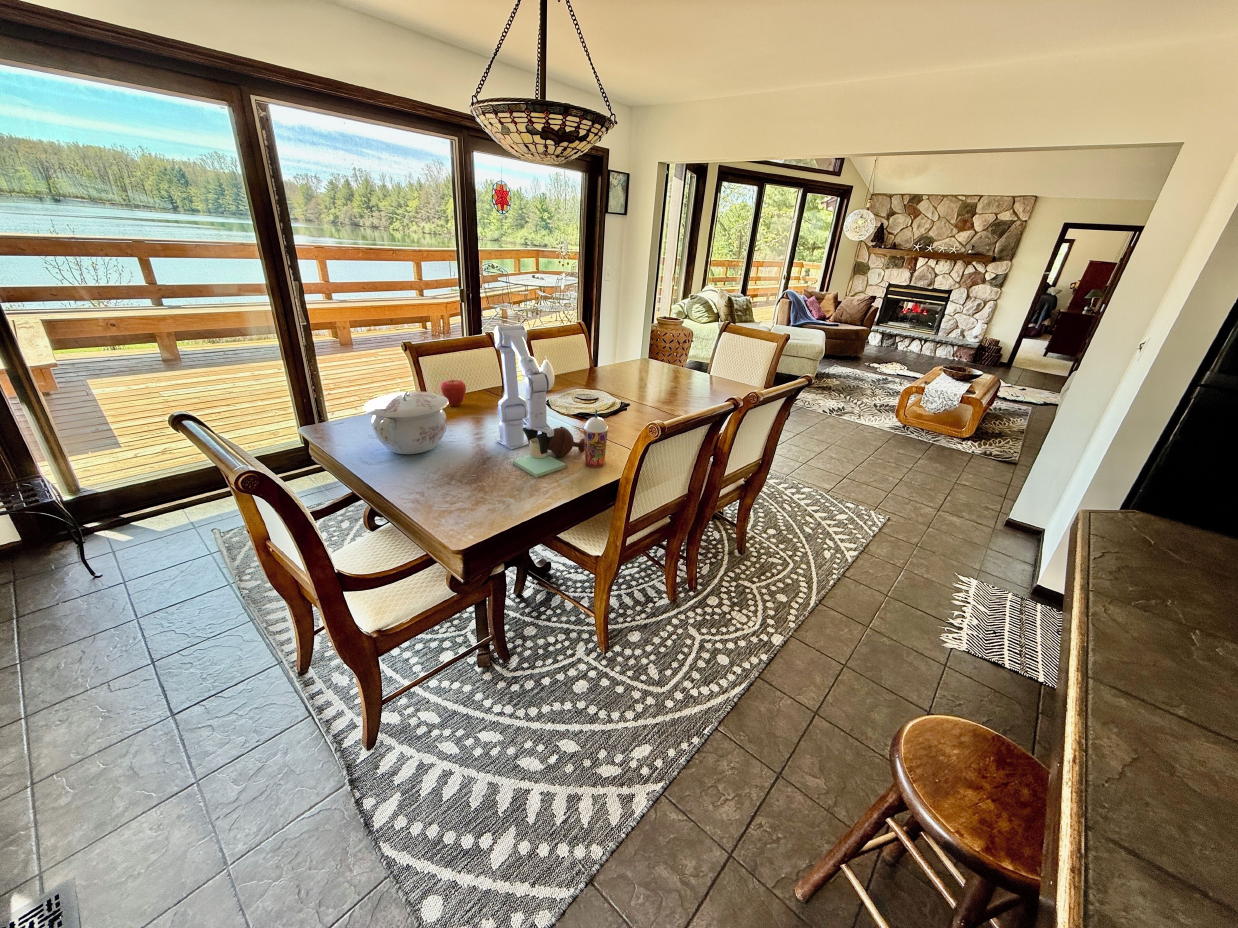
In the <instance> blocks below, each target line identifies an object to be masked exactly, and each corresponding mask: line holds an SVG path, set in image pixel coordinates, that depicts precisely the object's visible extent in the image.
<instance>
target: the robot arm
mask: <svg viewBox="0 0 1238 928" xmlns="http://www.w3.org/2000/svg"><path fill="white" fill-rule="evenodd" d="M493 337H494V346H495V349H496V350H499V351H500V356H501V365H502V377H503V387H504V396H502V398H501V399H499V401H498V403H497V405H498V406H497V416H498V419H499V421H500V422H499V425H498V433H499V440H497V443H499V444H500V445H503V446H504V447H506V448H508V449H509V450H514V449H517V448H521V447H525V446H529V447H530V440H531V439H533V438H538V441H539V445H540V452H541V454H545V453H547V451H548V452H549V450H548V447H549V444H550V441H551V439H552V438H553V436H554V430H553V429H554V428H552V427H551V426H550V425H549V424H548V423H547V421H548V419H547V392H549V391H550V390H549V380H548V377H547V375H546V373H544V372H543V371H541V370H540V368H541V367H540V366H539V364H538V362H537V360H536V358H535V357H534V356H533V355H532V356H531V355H530V352H529V349H528V346H527V340H528V331H527V328H526V326H524V324H514V325H512V324H510V325H496V326H495V327H494V330H493ZM516 358H517V359H518V363H517V360H516ZM517 365H518V368H519V370H520V372H521V374H522V377H523V379H524V381H523V383H524V384H523V385H524V389H525V396H526V398H527V401H526V400H525V398H523V397H522V396H520V395H519V383H518V373H517V372H518V371H517ZM548 390H549V391H548ZM539 432H540V433H539ZM525 437H526V439H527V441H526V440H525Z"/></svg>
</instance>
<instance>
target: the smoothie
mask: <svg viewBox="0 0 1238 928" xmlns="http://www.w3.org/2000/svg"><path fill="white" fill-rule="evenodd" d="M608 432H609V426H608V424H607V422H605V420H604V419H603V418H602V417H599V416H598V409H595V410H594V416H593V417H590V418H588V419H587V420H586V422H585V424H584V425H583V438H584V443H585V450H584V460H585V463H586V465H587V466H588V467H592V468H599V467H602V466H603V465H604V463H605V462H606V451H607V441H608Z"/></svg>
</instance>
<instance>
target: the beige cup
mask: <svg viewBox="0 0 1238 928" xmlns="http://www.w3.org/2000/svg"><path fill="white" fill-rule="evenodd" d="M530 454H531V456H532V457H535V458H542V457H545V456H546V454H547V453H545V454H541V452H540V445H539V441H538V438H533V439H531V440H530V446H529V455H530Z"/></svg>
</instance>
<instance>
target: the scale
mask: <svg viewBox="0 0 1238 928" xmlns="http://www.w3.org/2000/svg"><path fill="white" fill-rule="evenodd" d="M512 464H513V465H514V466H516V467H518V468H520V469H521V470H523V471H524V472H526V473H528V474H530V475H531V476H532V477H534V478H536V479H537V478H541V477H543V476H545V475H548V474H552V473H555V472H557V471H559V470H564V469H565V468H566V464H565V463H564V462H563V461H560V460H558V459H556V458H554V457H553V456H551V455H549V450H548V451H547V454H546V456H545V457H542V458H535V457H532V456H531V454H530V453H529V454H527V455H524V456H521V457H518V458H514V459H512Z"/></svg>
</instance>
